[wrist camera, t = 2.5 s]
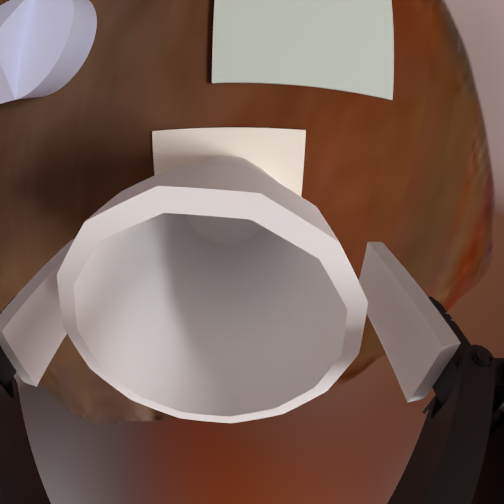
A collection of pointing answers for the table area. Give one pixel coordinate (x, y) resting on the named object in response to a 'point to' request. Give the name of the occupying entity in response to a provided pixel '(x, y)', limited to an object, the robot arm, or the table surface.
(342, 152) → the table surface
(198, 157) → the cream card
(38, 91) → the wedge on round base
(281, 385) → the foam cup
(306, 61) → the sage mat
